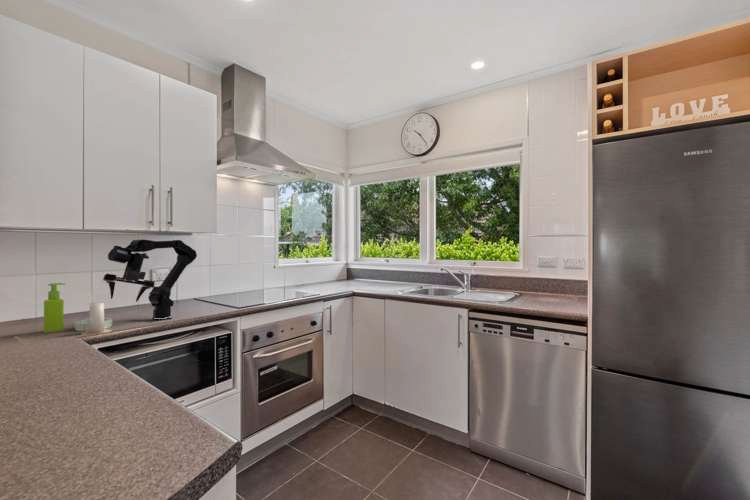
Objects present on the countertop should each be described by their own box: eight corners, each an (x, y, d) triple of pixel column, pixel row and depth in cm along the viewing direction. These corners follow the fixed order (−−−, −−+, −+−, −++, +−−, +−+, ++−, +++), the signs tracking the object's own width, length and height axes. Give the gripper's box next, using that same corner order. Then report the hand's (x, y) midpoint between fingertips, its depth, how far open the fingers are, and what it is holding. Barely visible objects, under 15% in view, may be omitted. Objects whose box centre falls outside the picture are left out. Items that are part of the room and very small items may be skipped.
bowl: (106, 324, 155) (106, 317, 155) (115, 328, 148) (115, 320, 148) (71, 329, 145) (71, 321, 145) (80, 333, 138) (80, 324, 138)
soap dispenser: (69, 329, 145) (69, 282, 145) (52, 333, 138) (53, 284, 138) (57, 329, 145) (57, 282, 145) (39, 333, 138) (40, 283, 139)
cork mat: (107, 329, 145) (107, 327, 145) (116, 332, 140) (116, 331, 140) (77, 333, 137) (77, 332, 137) (85, 337, 131) (85, 335, 131)
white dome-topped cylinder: (101, 329, 142) (102, 302, 142) (105, 331, 139) (106, 303, 139) (87, 332, 138) (88, 303, 138) (91, 333, 135) (91, 304, 135)
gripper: (110, 259, 144) (99, 296, 140) (160, 268, 156) (151, 303, 152) (108, 262, 153) (97, 297, 149) (156, 270, 164) (147, 303, 160)
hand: (124, 300), depth 152 cm, fingers open, 9 cm apart
